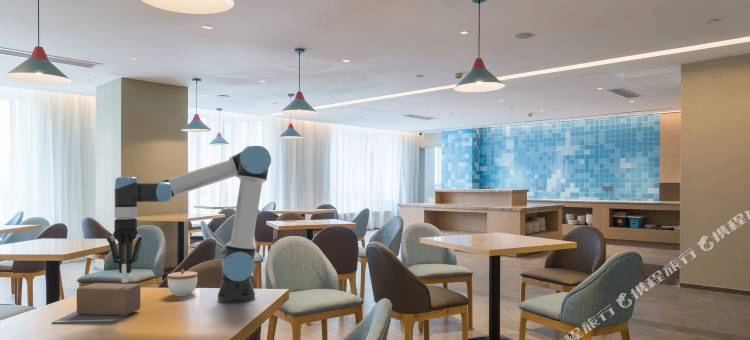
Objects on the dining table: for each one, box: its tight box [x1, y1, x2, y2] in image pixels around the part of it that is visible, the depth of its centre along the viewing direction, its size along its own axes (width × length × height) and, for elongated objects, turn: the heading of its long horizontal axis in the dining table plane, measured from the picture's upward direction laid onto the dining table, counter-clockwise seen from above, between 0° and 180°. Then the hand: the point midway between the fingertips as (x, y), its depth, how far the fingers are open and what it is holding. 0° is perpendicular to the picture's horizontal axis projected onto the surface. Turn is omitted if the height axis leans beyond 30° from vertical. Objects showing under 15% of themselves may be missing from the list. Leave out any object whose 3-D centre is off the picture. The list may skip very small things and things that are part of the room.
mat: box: [51, 310, 134, 325], centre depth 183 cm, size 22×17×1 cm
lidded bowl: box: [166, 269, 199, 297], centre depth 220 cm, size 13×13×11 cm
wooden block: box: [76, 282, 141, 316], centre depth 187 cm, size 10×10×20 cm
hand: (125, 281), depth 184 cm, fingers closed
